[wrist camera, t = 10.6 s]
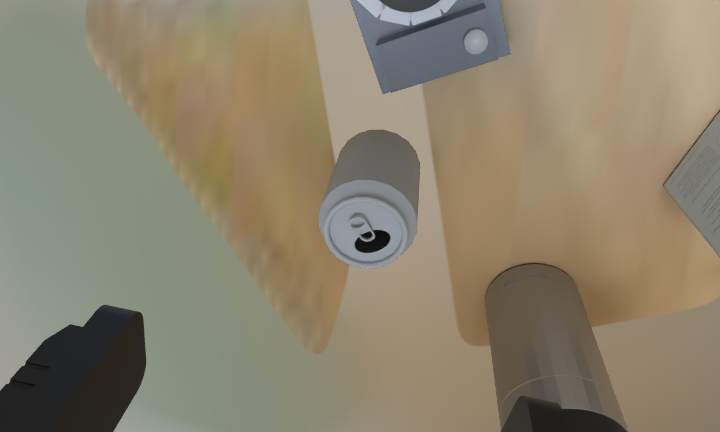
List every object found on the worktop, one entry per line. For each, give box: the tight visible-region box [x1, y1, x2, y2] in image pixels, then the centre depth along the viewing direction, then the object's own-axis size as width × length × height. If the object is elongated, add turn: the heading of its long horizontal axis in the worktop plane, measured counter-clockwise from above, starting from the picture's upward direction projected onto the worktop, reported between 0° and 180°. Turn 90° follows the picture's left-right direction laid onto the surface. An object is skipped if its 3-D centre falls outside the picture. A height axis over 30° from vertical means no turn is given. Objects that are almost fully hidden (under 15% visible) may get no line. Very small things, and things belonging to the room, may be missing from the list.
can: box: [318, 130, 420, 268], centre depth 43 cm, size 8×8×12 cm
